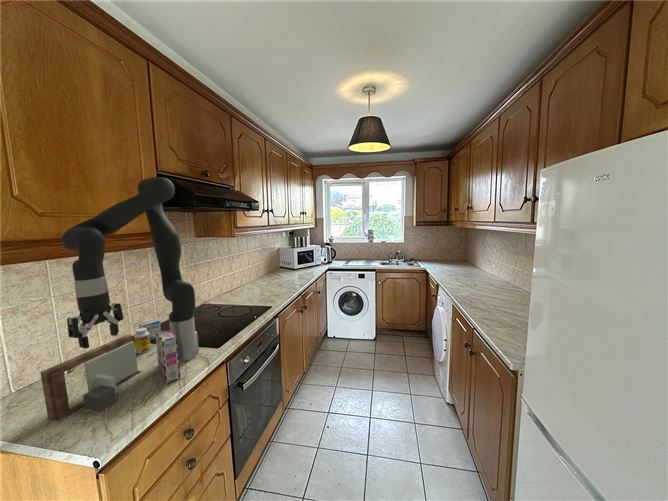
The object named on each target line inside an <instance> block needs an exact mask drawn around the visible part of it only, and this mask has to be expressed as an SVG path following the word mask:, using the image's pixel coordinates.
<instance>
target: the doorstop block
mask: <svg viewBox="0 0 668 501" xmlns="http://www.w3.org/2000/svg"><path fill="white" fill-rule="evenodd" d="M83 398H84V400H83V401H85V406H84V407H85V410H88V411H92V410H93V411H94V412H97V413H101V412H103V411H104V410H105V409H107V408H109V407H110V406H112V405H113V404H115V403H116V402H117V395H116V393H115V388H114V387H108V386H103V385H100V386H98V387H97V388H95V389H93V390H91V391H89V392H88V391H87V392H86V393H84V394H83ZM114 402H115V403H114ZM111 404H112V405H111ZM108 406H109V407H108Z"/></svg>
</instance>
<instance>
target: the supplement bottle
mask: <svg viewBox="0 0 668 501" xmlns="http://www.w3.org/2000/svg"><path fill="white" fill-rule="evenodd" d="M133 339H134V340H133V341H134V344H135V352H136V354H144V353H147V352H149V351H151V349H152V348H151V341H150V337H149V332H147V329H146V328H140V329H139V328H137V329H136V330H135V334H134V335H133Z"/></svg>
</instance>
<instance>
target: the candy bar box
mask: <svg viewBox="0 0 668 501" xmlns="http://www.w3.org/2000/svg"><path fill="white" fill-rule="evenodd" d="M155 334H156V339H155V341H156V344H155V345H156V353H157V366H158V373H159V374H160V376H161V377H162V379H163V381H164V382H165V384H170V383H172V382H175V381H177V380H179V379H181V374H180V372H181V371H180V362H179V359H178V346H177V337H176V336H175V335H174V334H173V333H172V332H171V331H170V328H169V329H163V330H161V331H159V332H156V333H155Z"/></svg>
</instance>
